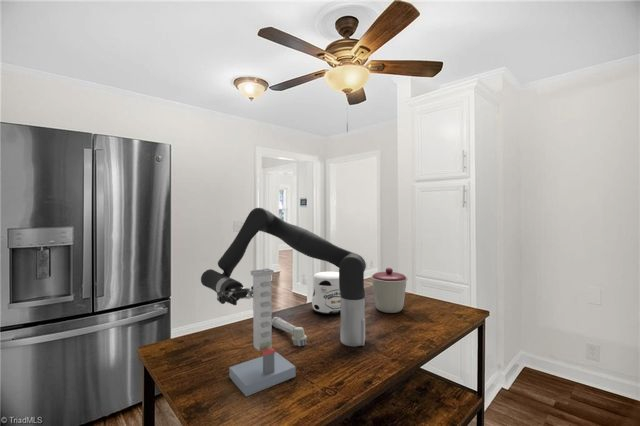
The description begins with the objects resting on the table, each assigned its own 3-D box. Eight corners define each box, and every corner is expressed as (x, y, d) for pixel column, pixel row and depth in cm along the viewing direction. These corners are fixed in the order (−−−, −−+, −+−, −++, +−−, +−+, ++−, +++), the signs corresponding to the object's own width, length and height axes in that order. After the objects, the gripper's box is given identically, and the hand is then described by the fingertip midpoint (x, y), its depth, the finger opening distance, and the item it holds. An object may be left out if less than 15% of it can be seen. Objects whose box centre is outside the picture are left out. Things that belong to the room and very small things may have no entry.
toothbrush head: (279, 315, 134) (308, 325, 114) (280, 330, 134) (309, 343, 113) (268, 317, 131) (296, 328, 111) (269, 333, 131) (297, 347, 110)
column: (267, 342, 95) (267, 268, 95) (275, 347, 91) (275, 271, 91) (251, 347, 92) (250, 270, 91) (258, 353, 88) (257, 273, 87)
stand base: (276, 360, 102) (275, 332, 101) (295, 376, 92) (295, 345, 92) (229, 377, 92) (229, 345, 92) (246, 396, 82) (245, 361, 82)
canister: (370, 303, 162) (370, 264, 162) (405, 304, 160) (405, 264, 160) (371, 315, 144) (371, 271, 144) (410, 317, 142) (410, 272, 142)
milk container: (336, 319, 139) (336, 280, 138) (304, 312, 148) (304, 276, 147) (352, 309, 153) (352, 273, 153) (323, 303, 162) (323, 269, 162)
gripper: (210, 281, 108) (227, 292, 95) (247, 276, 116) (267, 284, 103) (210, 302, 108) (227, 315, 95) (247, 295, 116) (267, 306, 104)
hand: (248, 299), depth 99 cm, fingers open, 8 cm apart
